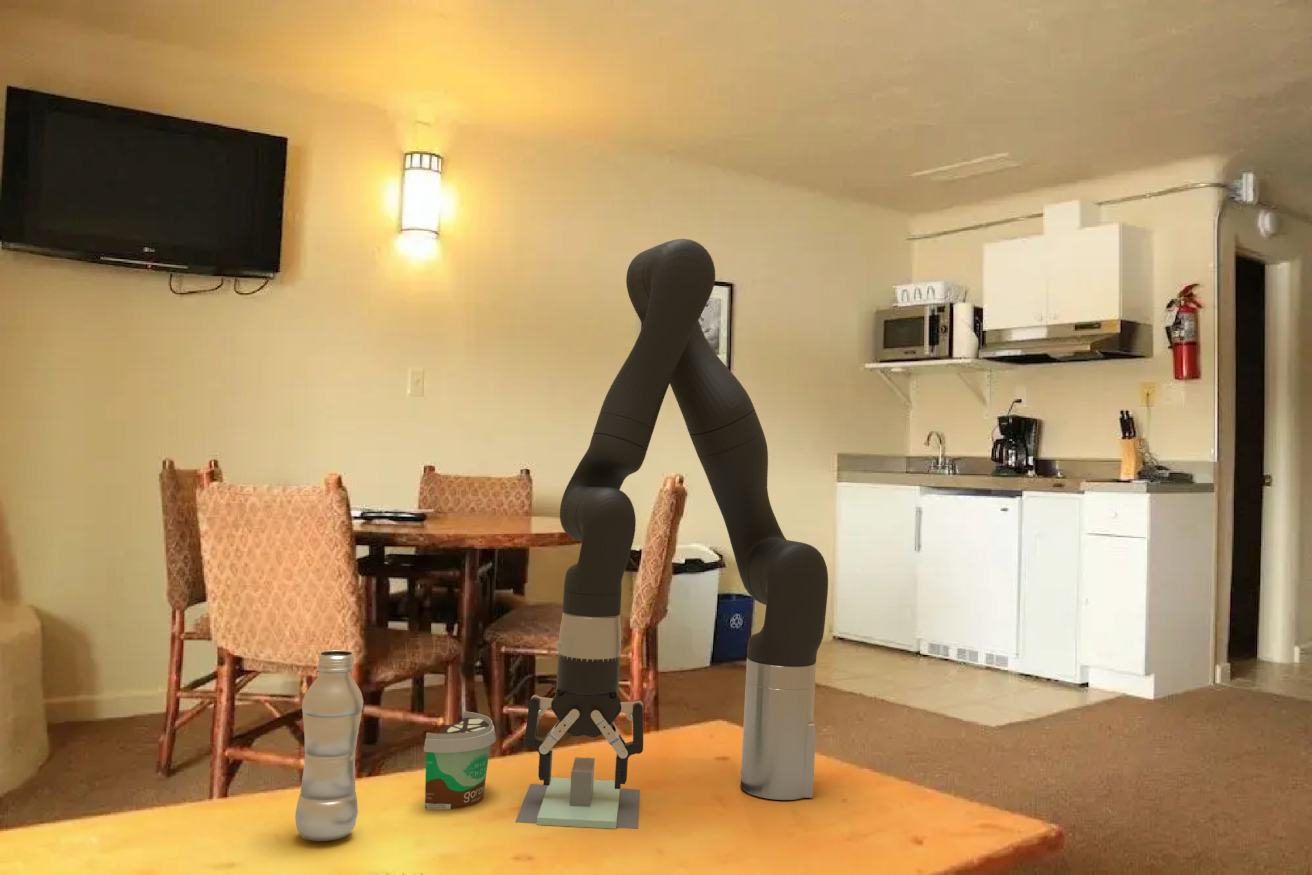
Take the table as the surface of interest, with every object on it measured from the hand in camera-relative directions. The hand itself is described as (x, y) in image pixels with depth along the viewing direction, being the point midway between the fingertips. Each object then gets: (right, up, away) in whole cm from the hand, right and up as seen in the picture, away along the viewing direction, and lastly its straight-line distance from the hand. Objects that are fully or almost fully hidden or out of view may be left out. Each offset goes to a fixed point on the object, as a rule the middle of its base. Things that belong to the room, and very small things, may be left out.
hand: (582, 785), depth 124 cm
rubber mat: (0, -3, 0) cm, 3 cm away
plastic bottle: (-27, -2, -12) cm, 30 cm away
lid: (0, -2, 0) cm, 2 cm away
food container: (-14, -3, 0) cm, 14 cm away
